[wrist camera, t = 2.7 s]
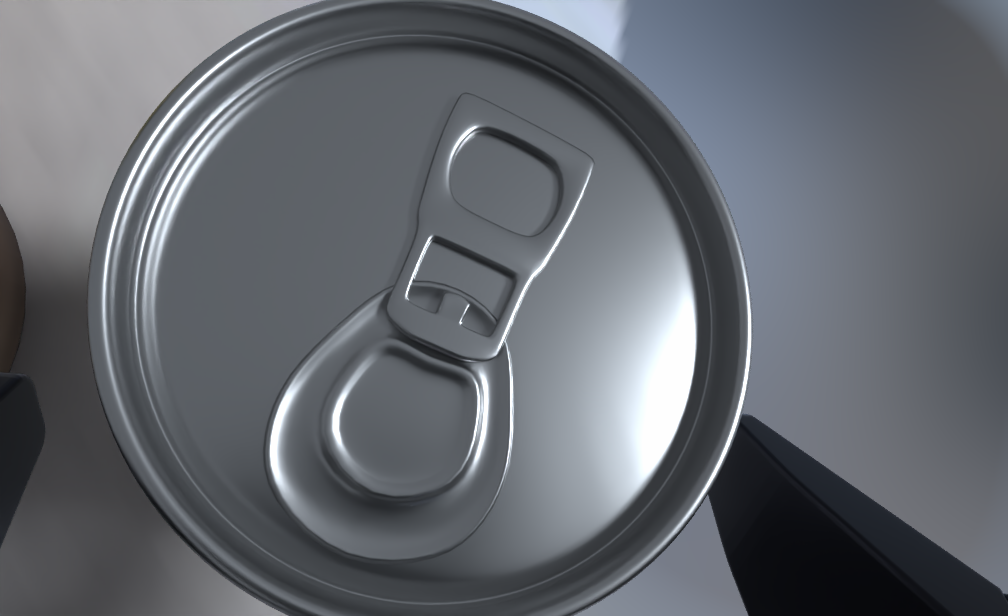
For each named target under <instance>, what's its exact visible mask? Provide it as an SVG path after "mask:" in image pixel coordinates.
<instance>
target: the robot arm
mask: <svg viewBox="0 0 1008 616" xmlns="http://www.w3.org/2000/svg"><path fill="white" fill-rule="evenodd" d="M44 439H45V424H44V420H43V416H42V413H41V409H40V405H39V402H38V398H37V394H36V391H35V387H34V384H33V382H32V380H31V379H30V378H29V377H28V376H27V375H24V374H20V373H3V372H0V547H1V545H2V543H3V540H4V538H5V535H6V533H7V531H8V528H9V526H10V523H11V521H12V519H13V516H14V514H15V511H16V509H17V507H18V504H19V502H20V499H21V497H22V494H23V492H24V490H25V487H26V485H27V482H28V480H29V478H30V475H31V473H32V470H33V468H34V466H35V463H36V461H37V458H38V456H39V454H40V451H41V449H42V446H43V443H44ZM708 496H709V499H710V503H711V506H712V509H713V513H714V517H715V520H716V524H717V527H718V531H719V534H720V538H721V542H722V545H723V548H724V551H725V554H726V558H727V561H728V563H729V566H730V569H731V572H732V575H733V577H734V580H735V583H736V585H737V587H738V590H739V593H740V595H741V598H742V600H743V603H744V605H745V608H746V611H747V613H748V616H1008V594H1003V593H1002V591H1001V589H1000V588H998V587H997V586H995V585H994V584H992V583H991V582H990V581H988V580H987V579H985V578H984V577H983V576H981V575H980V574H978V573H977V572H975V571H974V570H973V569H971V568H970V567H968V566H967V565H965V564H964V563H962V562H961V561H960V560H958V559H957V558H955V557H954V556H952V555H951V554H950V553H948V552H947V551H945V550H944V549H942V548H941V547H940V546H938V545H937V544H935V543H934V542H932V541H931V540H929V539H928V538H927V537H925V536H924V535H922V534H921V533H919V532H918V531H917V530H915V529H914V528H912V527H911V526H909V525H908V524H906V523H905V522H904V521H902V520H901V519H899V518H898V517H896V516H895V515H894V514H892V513H891V512H889V511H888V510H887V509H885V508H884V507H882V506H881V505H879V504H878V503H877V502H875V501H874V500H872V499H871V498H869V497H868V496H866V495H865V494H864V493H862V492H861V491H859V490H858V489H856V488H855V487H854V486H852V485H851V484H849V483H848V482H846V481H845V480H844V479H842V478H840V477H839V476H838V475H836V474H835V473H833V472H832V471H831V470H829V469H828V468H826V467H825V466H824V465H822V464H821V463H819V462H818V461H816V460H815V459H814V458H812V457H811V456H809V455H808V454H806V453H804V451H802V450H800V449H799V448H798V447H796V446H795V445H793V444H792V443H791V442H789V441H788V440H786V439H785V438H783V437H782V436H781V435H779V434H778V433H776V432H775V431H773V430H772V429H771V428H769V427H768V426H766V425H765V424H763V423H762V422H761V421H759V420H758V419H756V418H755V417H753V416H751V415H748V414H742V415H741V419H740V422H739V425H738V429H737V432H736V435H735V438H734V440H733V443H732V446H731V448H730V451H729V453H728V455H727V458H726V460H725V462H724V465H723V467H722V469H721V471H720V473H719V475H718V477H717V479H716V480H715V482H714V484H713V486H712V488H711V490H710V491H709V493H708Z"/></svg>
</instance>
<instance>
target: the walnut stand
mask: <svg viewBox="0 0 1008 616" xmlns="http://www.w3.org/2000/svg"><path fill="white" fill-rule="evenodd" d="M25 293H26V286H25V278H24V269H23V261H22V257H21V254H20V250H19V247H18V243H17V240H16V236H15V233H14V231H13V229H12V227H11V225H10V222H9V220H8V218H7V216H6V214H5V212H4V210H3V208H2V206H1V205H0V372H3V373H9V371H10V368H11V365H12V363H13V360H14V357H15V354H16V351H17V349H18V346H19V341H20V336H21V331H22V326H23V321H24V316H25Z"/></svg>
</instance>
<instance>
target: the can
mask: <svg viewBox="0 0 1008 616" xmlns="http://www.w3.org/2000/svg"><path fill="white" fill-rule="evenodd" d="M87 324H88V338H89V346H90V354H91V361H92V366H93V371H94V376H95V381H96V384H97V388H98V392H99V396H100V400H101V403H102V406H103V409H104V412H105V415H106V418H107V421H108V423H109V426H110V428H111V431H112V434H113V436H114V438H115V440H116V443H117V445H118V447H119V449H120V451H121V453H122V455H123V457H124V459H125V461H126V463H127V465H128V467H129V469H130V470H131V472H132V474H133V475H134V477H135V479H136V480H137V482H138V484H139V486H140V487H141V489H142V490H143V491H144V493H145V494H146V496H147V497H148V499H149V500H150V502H151V503H152V505H153V506H154V507H155V508H156V510H157V511H158V512H159V514H160V515H161V516H162V518H163V519H164V520H165V521H166V522H167V523H168V525H169V526H170V527H171V528H172V529H173V530H174V532H175V533H176V534H177V535H178V536H179V537H180V538H181V539H182V540H183V541H184V542H185V543H186V544H187V545H188V546H189V547H190V548H191V549H192V550H193V551H194V552H195V553H196V554H197V555H198V556H199V557H200V558H201V559H203V560H204V561H205V562H206V563H207V564H208V565H210V566H211V567H212V568H213V569H214V570H216V571H217V572H218V573H219V574H221V575H222V576H223V577H225V578H226V579H227V580H229V581H230V582H231V583H233V584H234V585H236V586H237V587H239V588H240V589H242V590H243V591H245V592H246V593H248V594H249V595H251V596H252V597H254V598H256V599H258V600H259V601H261V602H263V603H265V604H266V605H268V606H270V607H272V608H274V609H276V610H278V611H280V612H282V613H284V614H286V615H288V616H574V615H576V614H578V613H580V612H582V611H584V610H586V609H588V608H589V607H591V606H593V605H595V604H597V603H598V602H600V601H602V600H603V599H605V598H606V597H608V596H610V595H611V594H612V593H614V592H616V591H617V590H618V589H620V588H621V587H623V586H624V585H625V584H627V583H628V582H629V581H631V580H632V579H633V578H635V577H636V576H637V575H638V574H639V573H641V572H642V571H643V570H644V569H645V568H646V567H648V566H649V565H650V564H651V563H652V562H653V561H654V560H655V559H656V558H657V557H658V556H659V555H660V554H661V553H662V552H663V551H664V550H665V549H666V548H667V547H668V546H669V545H670V544H671V543H672V542H673V541H674V540H675V538H676V537H677V536H678V535H679V534H680V532H681V531H682V530H683V529H684V528H685V526H686V525H687V524H688V522H689V521H690V520H691V518H692V517H693V516H694V514H695V512H696V511H697V510H698V508H699V507H700V506H701V504H702V503H703V501H704V499H705V498H706V496H707V495H708V493H709V491H710V490H711V488H712V486H713V484H714V482H715V480H716V479H717V477H718V475H719V473H720V471H721V469H722V467H723V465H724V462H725V460H726V458H727V455H728V453H729V451H730V448H731V446H732V443H733V440H734V438H735V435H736V432H737V429H738V425H739V422H740V419H741V415H742V411H743V408H744V403H745V399H746V393H747V389H748V383H749V377H750V369H751V359H752V343H753V320H752V303H751V293H750V285H749V279H748V273H747V267H746V263H745V258H744V254H743V250H742V246H741V243H740V239H739V235H738V232H737V229H736V226H735V223H734V220H733V217H732V215H731V212H730V209H729V207H728V204H727V202H726V200H725V197H724V195H723V193H722V191H721V189H720V187H719V185H718V182H717V181H716V179H715V177H714V175H713V173H712V171H711V169H710V167H709V166H708V164H707V162H706V160H705V159H704V157H703V156H702V154H701V152H700V151H699V149H698V148H697V146H696V144H695V143H694V142H693V140H692V139H691V137H690V136H689V134H688V133H687V132H686V131H685V129H684V128H683V126H682V125H681V124H680V122H679V121H678V120H677V119H676V118H675V116H674V115H673V114H672V113H671V112H670V111H669V109H668V108H667V107H666V106H665V105H664V104H663V103H662V101H660V100H659V98H658V97H657V96H656V95H655V94H654V93H653V92H652V91H651V90H650V89H649V88H648V87H647V86H646V85H644V83H642V82H641V81H640V80H639V79H638V78H637V77H636V76H635V75H634V74H632V73H631V72H630V71H629V70H628V69H626V68H625V67H624V66H623V65H621V64H620V63H619V62H617V61H616V60H615V59H614V58H612V57H611V56H609V55H608V54H607V53H605V52H604V51H602V50H601V49H599V48H598V47H596V46H595V45H593V44H592V43H590V42H588V41H587V40H585V39H583V38H582V37H580V36H578V35H577V34H575V33H573V32H571V31H569V30H567V29H565V28H564V27H562V26H559V25H557V24H555V23H553V22H551V21H549V20H547V19H544V18H542V17H540V16H537V15H535V14H532V13H530V12H527V11H524V10H522V9H519V8H516V7H513V6H510V5H506V4H503V3H499V2H496V1H492V0H324V1H320V2H316V3H313V4H310V5H306V6H303V7H301V8H298V9H295V10H292V11H289V12H287V13H284V14H282V15H280V16H277V17H275V18H273V19H271V20H268V21H266V22H264V23H262V24H260V25H258V26H256V27H254V28H252V29H251V30H249V31H247V32H245V33H244V34H242V35H240V36H238V37H237V38H235V39H233V40H232V41H230V42H229V43H227V44H226V45H224V46H223V47H221V48H220V49H219V50H217V51H216V52H215V53H213V54H212V55H211V56H209V57H208V58H207V59H205V60H204V61H203V62H202V63H201V64H199V65H198V66H197V67H196V68H194V69H193V70H192V71H191V72H190V73H189V74H188V75H187V76H186V77H185V78H184V79H183V80H182V81H181V82H180V83H179V84H178V85H177V86H176V87H175V88H174V89H173V90H172V91H171V92H170V93H169V94H168V95H167V96H166V97H165V99H164V100H163V101H162V102H161V103H160V104H159V106H158V107H157V108H156V109H155V111H154V112H153V113H152V114H151V116H150V117H149V118H148V120H147V121H146V123H145V124H144V126H143V127H142V128H141V130H140V131H139V133H138V134H137V136H136V138H135V139H134V141H133V142H132V144H131V146H130V147H129V149H128V151H127V153H126V155H125V156H124V158H123V160H122V162H121V164H120V166H119V168H118V170H117V172H116V175H115V177H114V179H113V181H112V184H111V186H110V189H109V191H108V194H107V196H106V199H105V202H104V205H103V208H102V211H101V214H100V218H99V221H98V225H97V229H96V233H95V238H94V242H93V247H92V253H91V259H90V266H89V276H88V289H87Z"/></svg>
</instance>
